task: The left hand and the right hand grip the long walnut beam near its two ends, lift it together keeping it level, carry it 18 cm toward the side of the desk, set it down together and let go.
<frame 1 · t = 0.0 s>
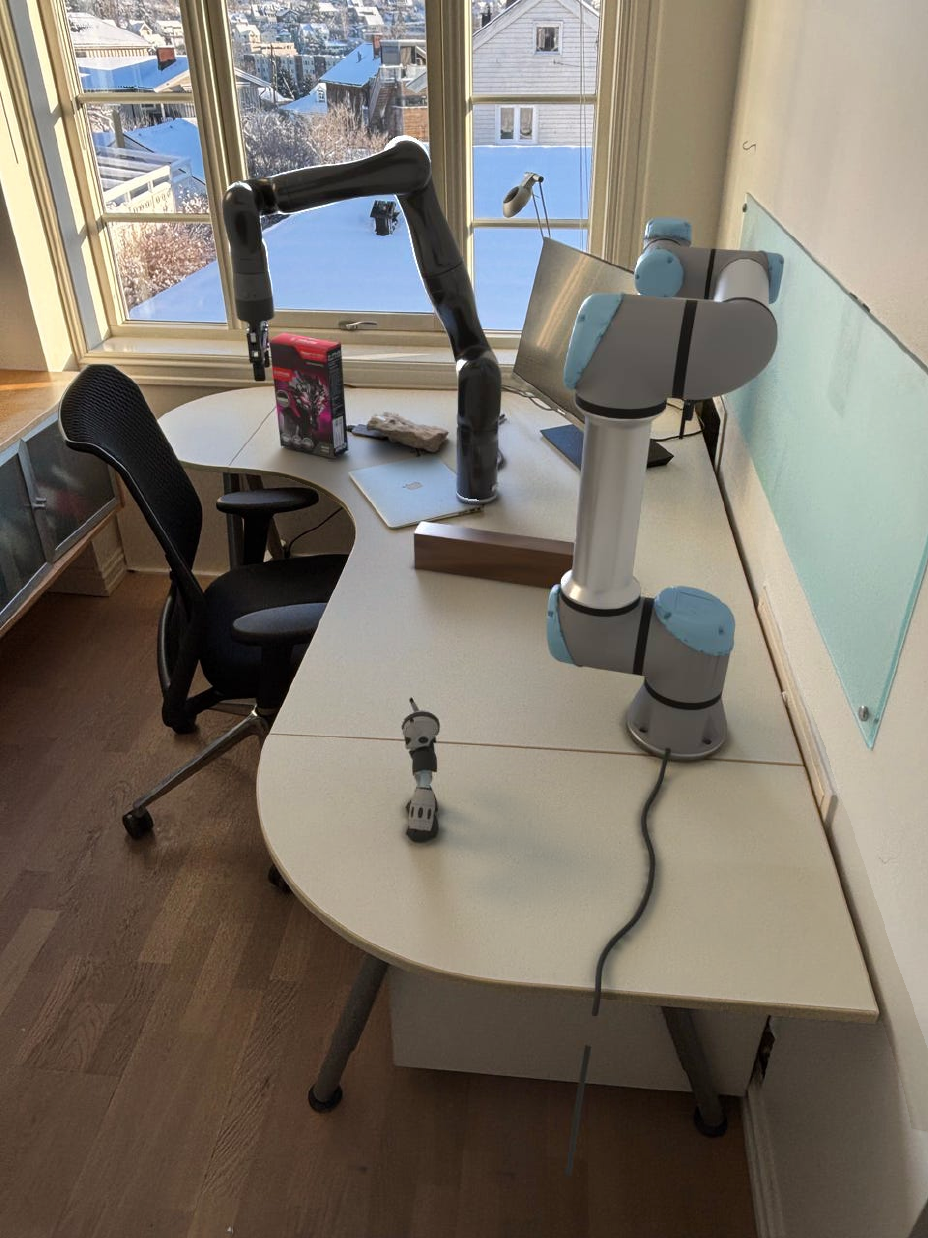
left hand: (262, 373, 191), 29 cm above the table, fingers open, 8 cm apart
right hand: (643, 432, 170), 28 cm above the table, fingers open, 13 cm apart
robot: (422, 821, 127), on the table
walnut beam: (495, 573, 182), on the table
graphics card box: (314, 449, 231), on the table
stone: (403, 441, 236), on the table
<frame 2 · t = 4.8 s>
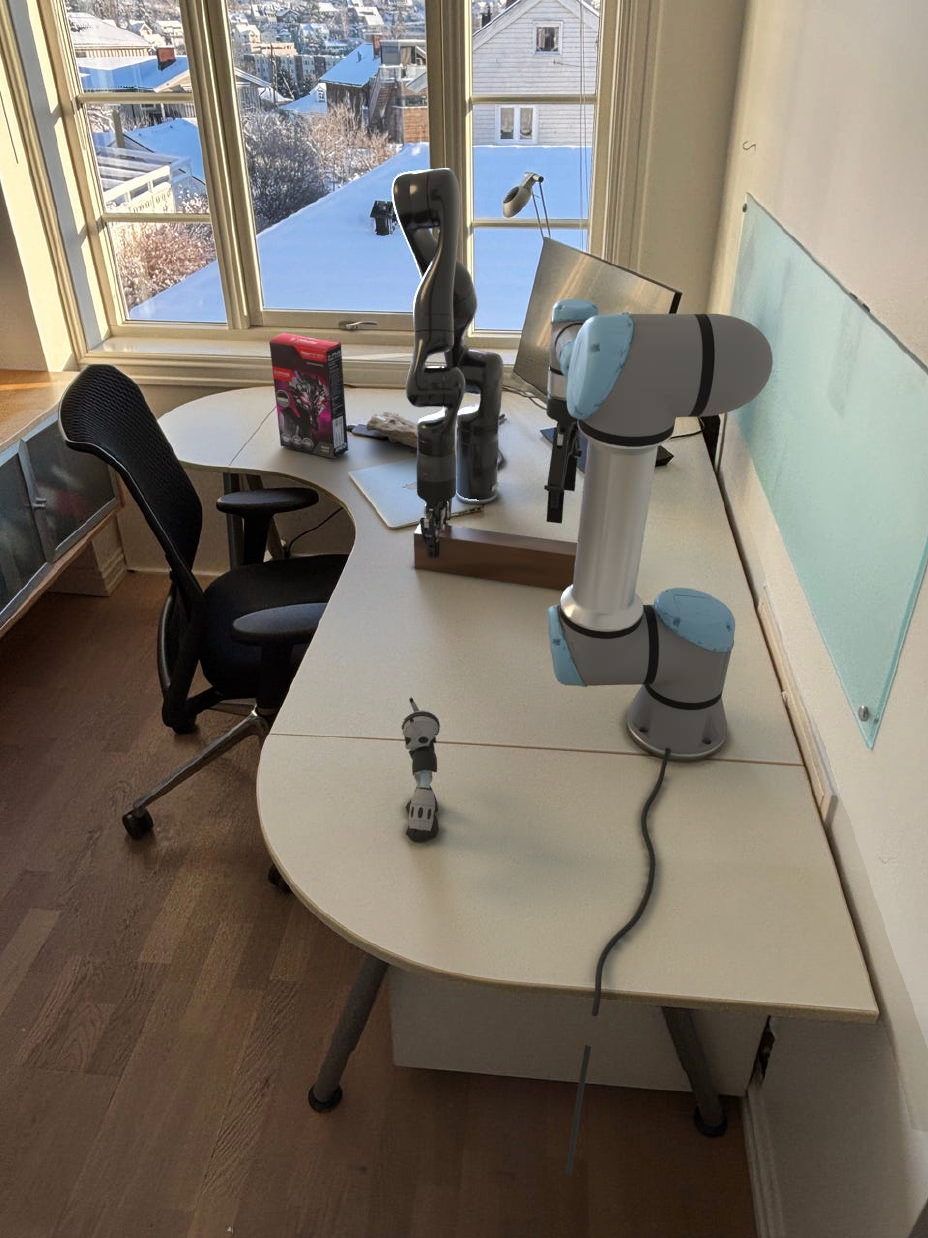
left hand: (437, 550, 183), 3 cm above the table, fingers closed on walnut beam, 5 cm apart
right hand: (561, 505, 170), 17 cm above the table, fingers open, 13 cm apart
walnut beam: (495, 573, 182), on the table, touching left hand
everything else where it was.
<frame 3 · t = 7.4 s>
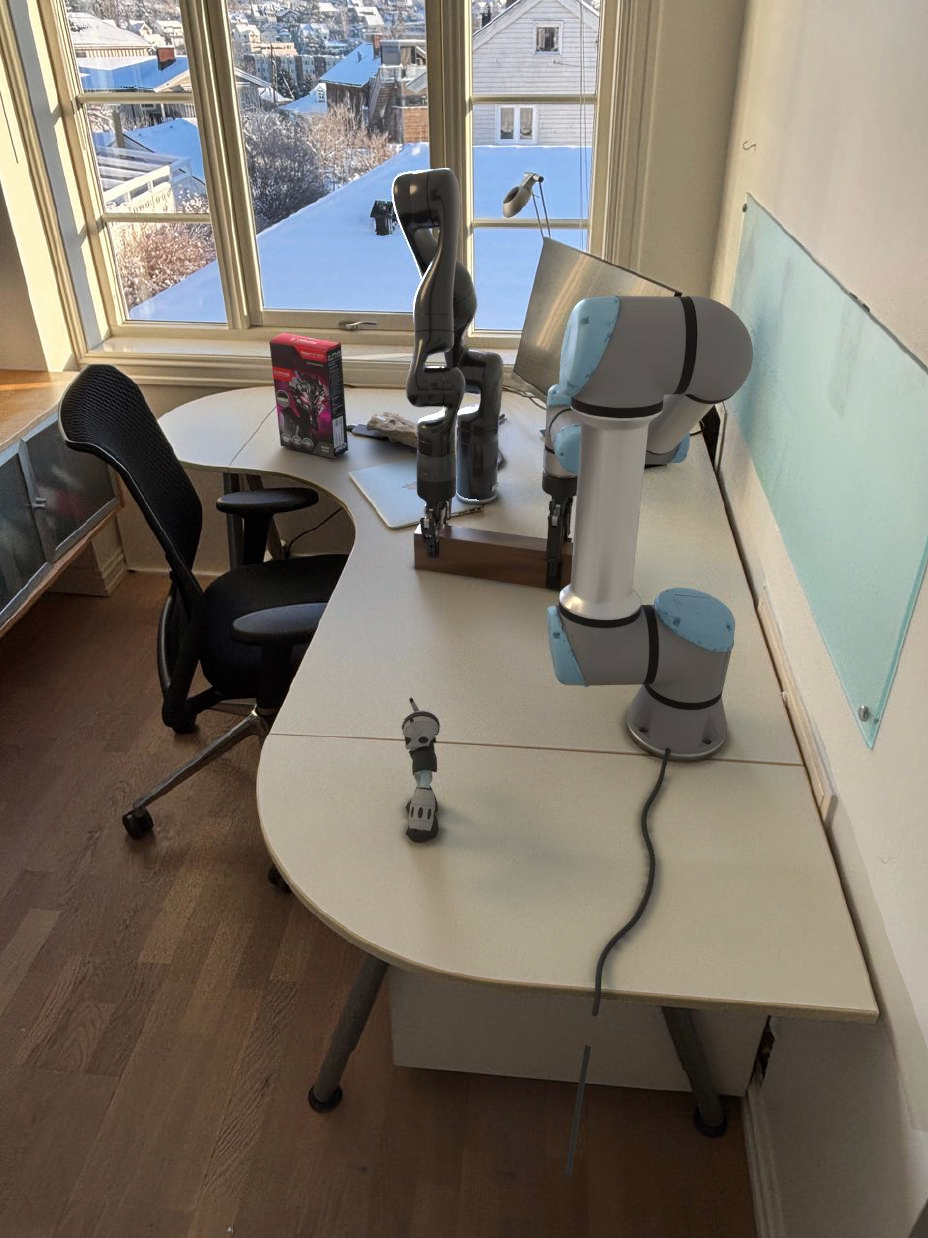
left hand: (437, 550, 183), 3 cm above the table, fingers closed on walnut beam, 5 cm apart
right hand: (555, 580, 179), 1 cm above the table, fingers closed on walnut beam, 5 cm apart
walnut beam: (495, 573, 182), on the table, touching right hand, left hand
everything else where it was.
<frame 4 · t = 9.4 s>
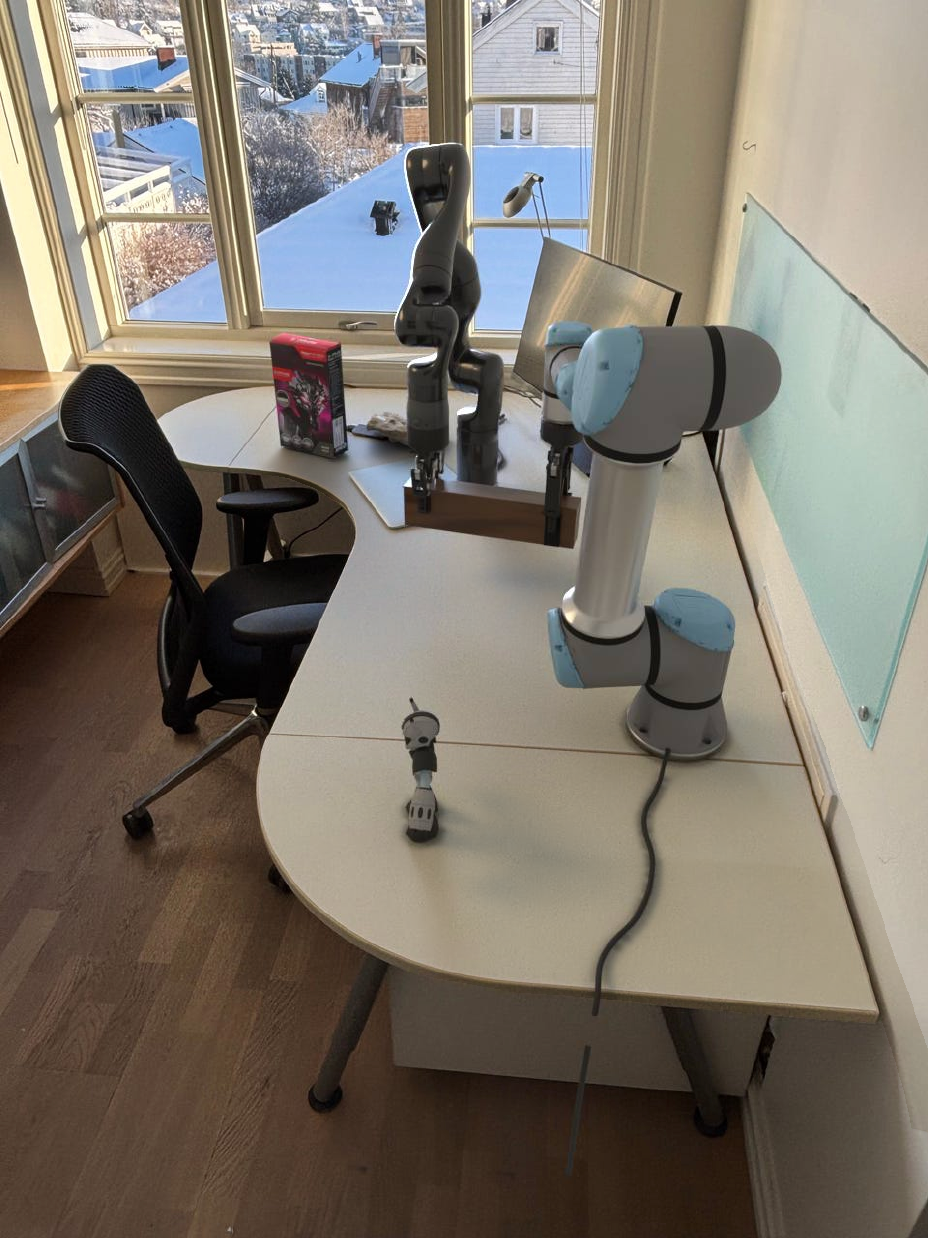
left hand: (428, 505, 172), 15 cm above the table, fingers closed on walnut beam, 5 cm apart
right hand: (554, 537, 169), 12 cm above the table, fingers closed on walnut beam, 5 cm apart
walnut beam: (490, 530, 172), point 12 cm above the table, touching right hand, left hand
everything else where it was.
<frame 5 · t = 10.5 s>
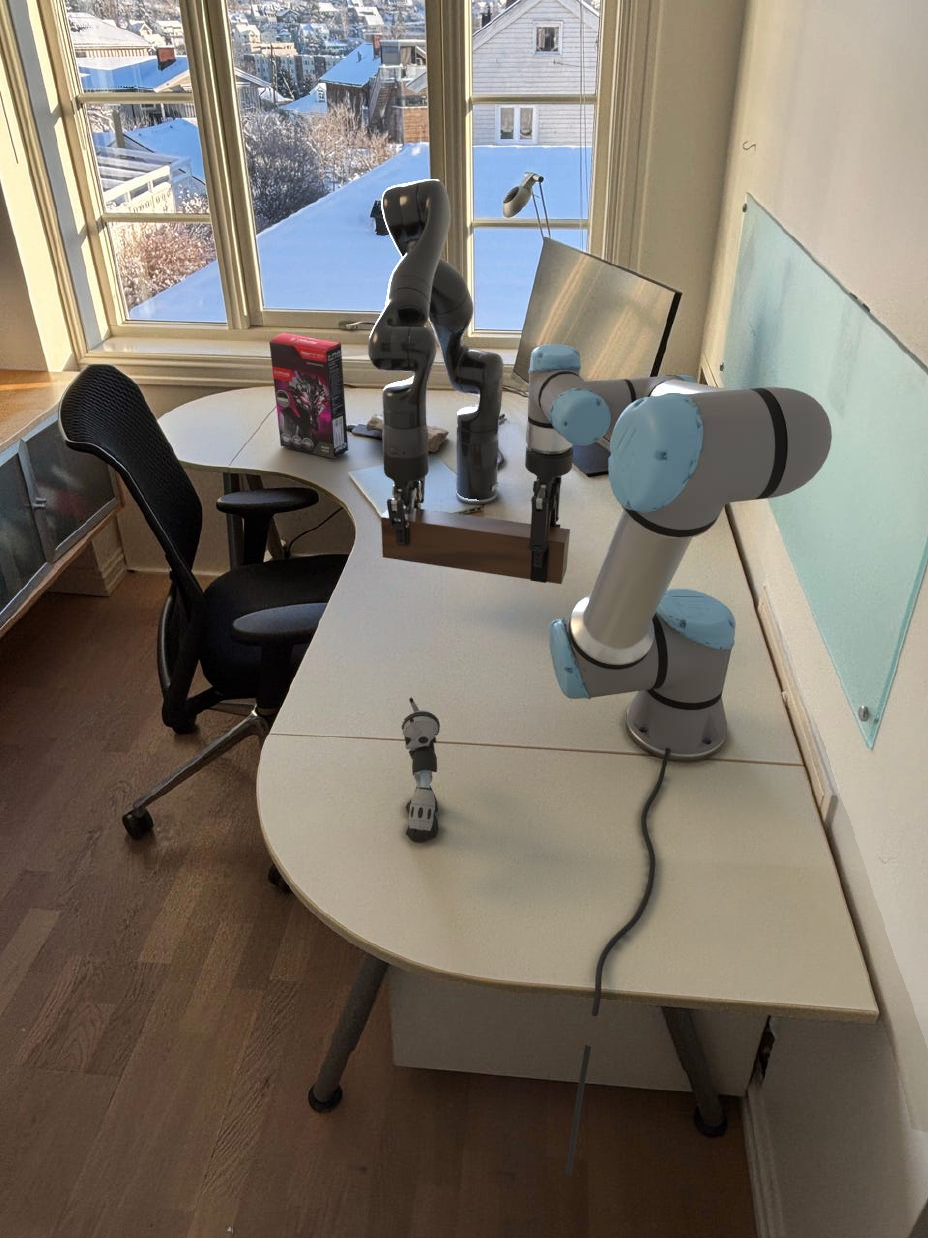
left hand: (408, 536, 162), 16 cm above the table, fingers closed on walnut beam, 5 cm apart
right hand: (541, 572, 159), 12 cm above the table, fingers closed on walnut beam, 5 cm apart
walnut beam: (473, 563, 161), point 12 cm above the table, touching right hand, left hand
everything else where it was.
when the right hand's fingers open (1 cm above the table, at t = 13.9 s): walnut beam stays where it is, on the table.
when the left hand's fingers open (4 cm above the table, at t = 14.1 s): walnut beam stays where it is, on the table.
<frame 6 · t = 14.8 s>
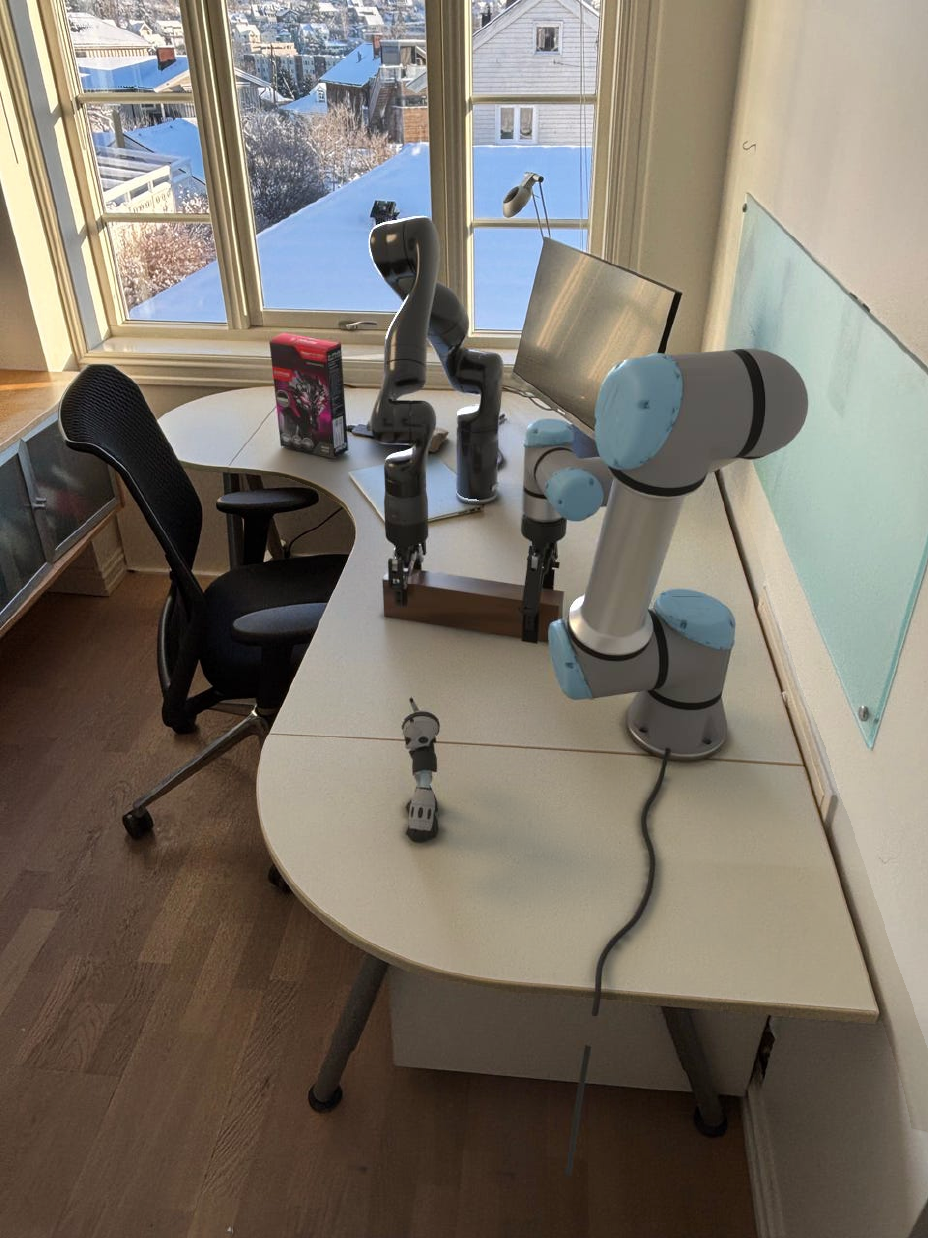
left hand: (408, 592, 168), 4 cm above the table, fingers open, 8 cm apart
right hand: (537, 620, 163), 3 cm above the table, fingers open, 13 cm apart
walnut beam: (471, 622, 168), on the table
everything else where it was.
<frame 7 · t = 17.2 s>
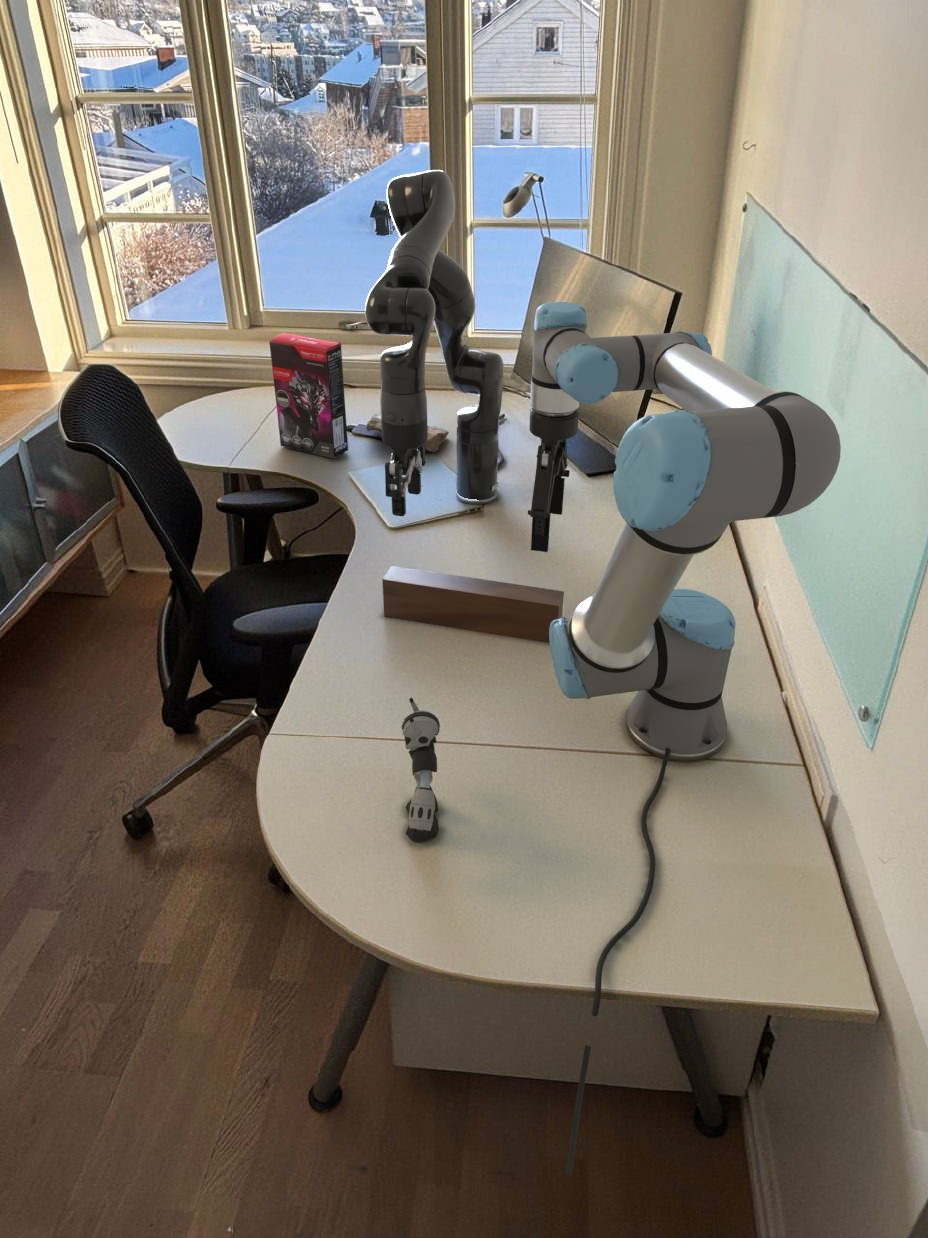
left hand: (407, 503, 158), 22 cm above the table, fingers open, 8 cm apart
right hand: (547, 531, 153), 21 cm above the table, fingers open, 13 cm apart
nothing on the table moved.
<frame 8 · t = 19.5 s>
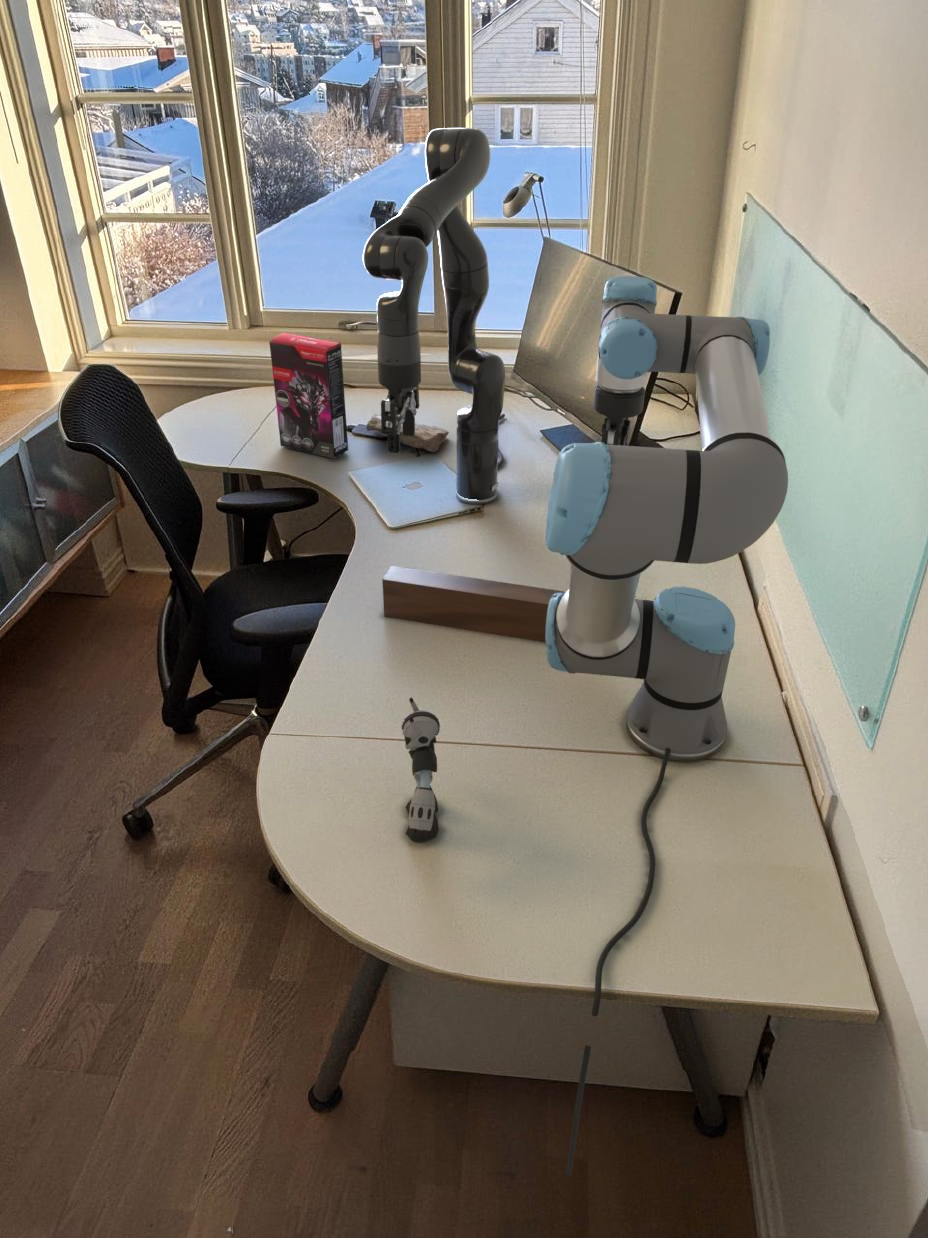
left hand: (401, 443, 170), 26 cm above the table, fingers open, 8 cm apart
right hand: (607, 511, 151), 25 cm above the table, fingers open, 13 cm apart
nothing on the table moved.
at the end: walnut beam inside the target area (0.1 cm from its centre), on the table; both hands held the walnut beam at the same time; walnut beam never tilted more than 1° during the clip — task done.
